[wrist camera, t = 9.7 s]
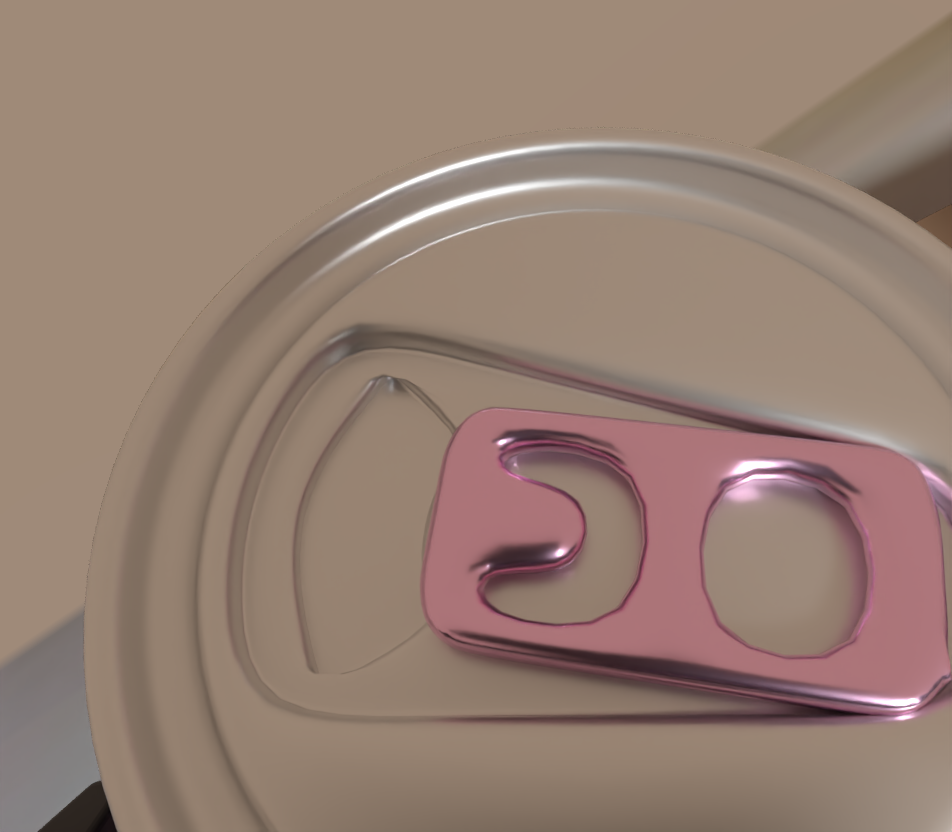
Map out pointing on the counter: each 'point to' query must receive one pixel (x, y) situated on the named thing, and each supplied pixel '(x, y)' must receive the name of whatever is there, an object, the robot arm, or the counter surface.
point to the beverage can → (544, 511)
